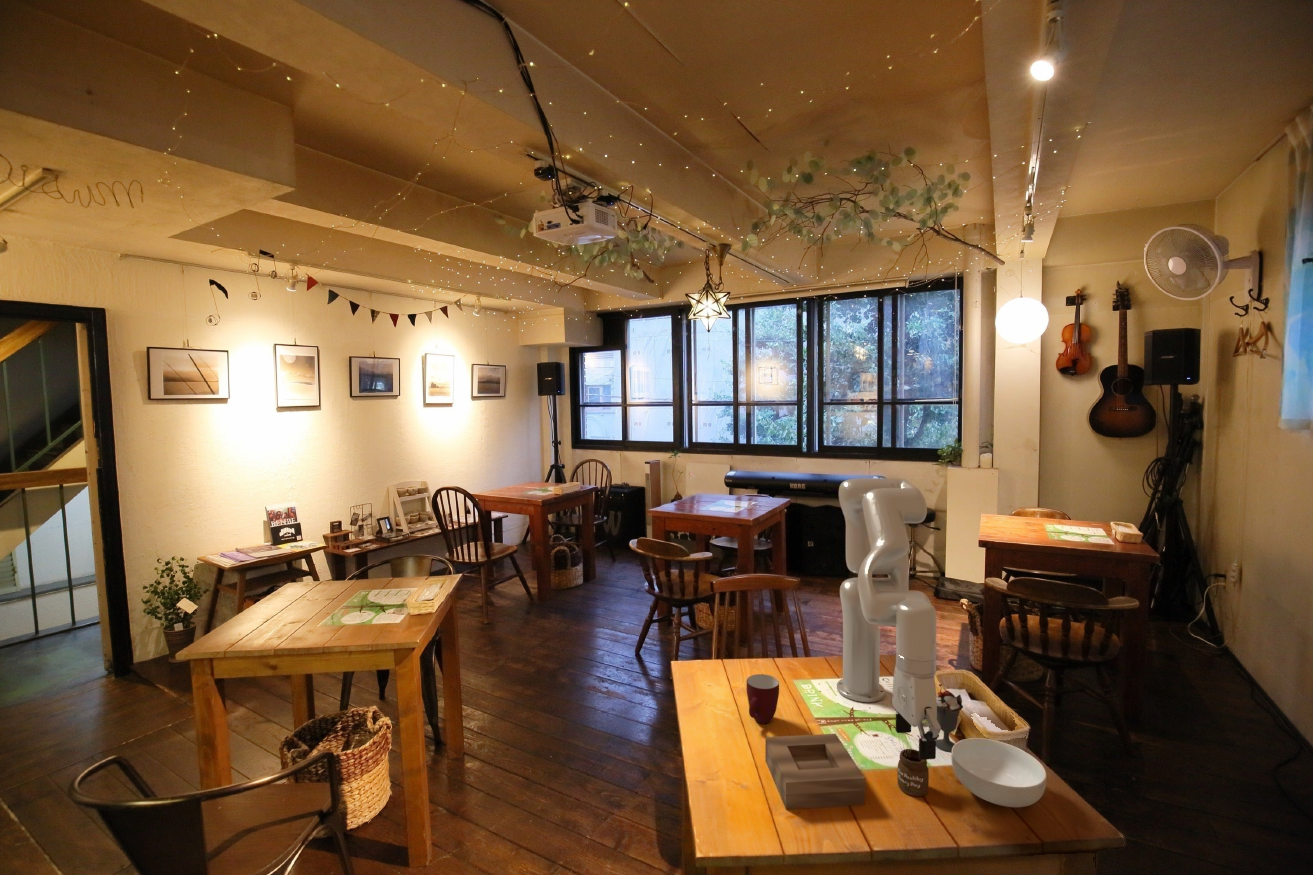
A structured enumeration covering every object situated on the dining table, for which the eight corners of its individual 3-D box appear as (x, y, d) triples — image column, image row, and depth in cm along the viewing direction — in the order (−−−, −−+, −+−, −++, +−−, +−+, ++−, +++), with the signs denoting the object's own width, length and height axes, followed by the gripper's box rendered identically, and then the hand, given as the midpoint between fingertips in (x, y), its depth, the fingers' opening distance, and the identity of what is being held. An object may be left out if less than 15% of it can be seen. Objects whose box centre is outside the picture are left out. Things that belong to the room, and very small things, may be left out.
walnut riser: (765, 760, 135) (765, 737, 134) (835, 757, 136) (835, 733, 135) (785, 809, 119) (785, 782, 118) (864, 804, 120) (865, 777, 120)
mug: (770, 736, 144) (770, 696, 144) (738, 728, 148) (738, 688, 147) (782, 715, 154) (782, 677, 153) (752, 708, 157) (752, 671, 157)
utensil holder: (902, 775, 129) (903, 721, 128) (933, 787, 125) (934, 731, 124) (893, 789, 124) (893, 733, 124) (925, 802, 120) (926, 744, 120)
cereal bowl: (995, 829, 113) (996, 793, 112) (932, 776, 129) (933, 744, 128) (1066, 812, 117) (1068, 777, 117) (997, 762, 133) (998, 731, 133)
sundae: (926, 746, 139) (927, 683, 139) (936, 734, 144) (937, 673, 143) (956, 757, 135) (958, 692, 134) (965, 745, 140) (967, 682, 139)
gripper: (879, 646, 131) (878, 723, 132) (919, 682, 114) (918, 770, 115) (912, 645, 132) (911, 722, 133) (957, 681, 115) (956, 768, 115)
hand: (914, 744), depth 124 cm, fingers open, 9 cm apart
